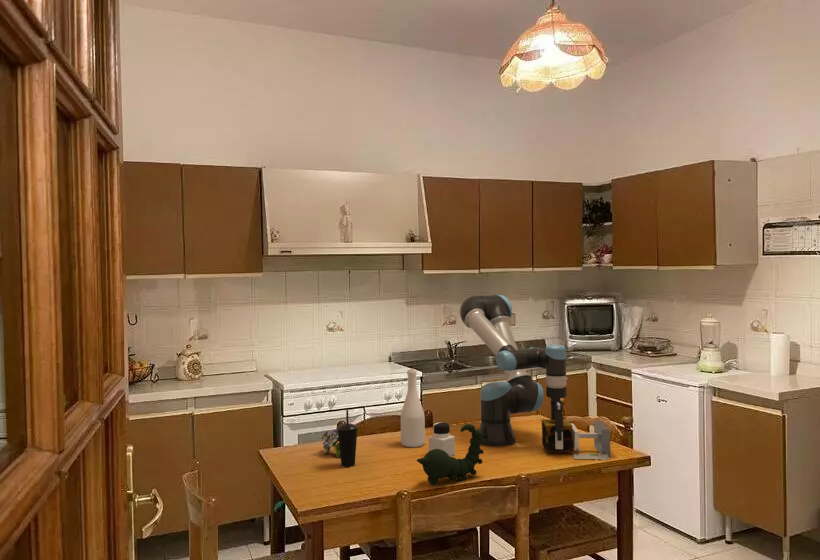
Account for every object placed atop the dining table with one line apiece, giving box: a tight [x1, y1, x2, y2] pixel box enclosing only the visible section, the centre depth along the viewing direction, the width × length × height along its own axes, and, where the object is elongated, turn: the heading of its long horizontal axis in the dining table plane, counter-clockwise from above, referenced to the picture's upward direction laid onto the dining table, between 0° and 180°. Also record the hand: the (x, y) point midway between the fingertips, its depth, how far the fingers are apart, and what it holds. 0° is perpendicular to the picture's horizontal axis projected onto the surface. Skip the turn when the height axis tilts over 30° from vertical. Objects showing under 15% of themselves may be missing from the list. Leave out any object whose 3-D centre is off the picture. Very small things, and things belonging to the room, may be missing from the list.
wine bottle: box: [400, 368, 426, 448], centre depth 252 cm, size 10×10×30 cm
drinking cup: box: [336, 408, 359, 468], centre depth 227 cm, size 8×8×20 cm
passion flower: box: [321, 428, 341, 459], centre depth 241 cm, size 11×11×12 cm
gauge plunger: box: [569, 422, 598, 454], centre depth 237 cm, size 12×16×7 cm
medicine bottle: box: [428, 421, 456, 457], centre depth 237 cm, size 7×7×12 cm
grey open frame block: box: [572, 420, 611, 461], centre depth 237 cm, size 14×18×10 cm
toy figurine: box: [416, 423, 484, 486], centre depth 208 cm, size 9×19×25 cm
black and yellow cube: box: [541, 418, 574, 453], centre depth 240 cm, size 10×10×10 cm
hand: (557, 444), depth 240 cm, fingers closed on black and yellow cube, 10 cm apart
